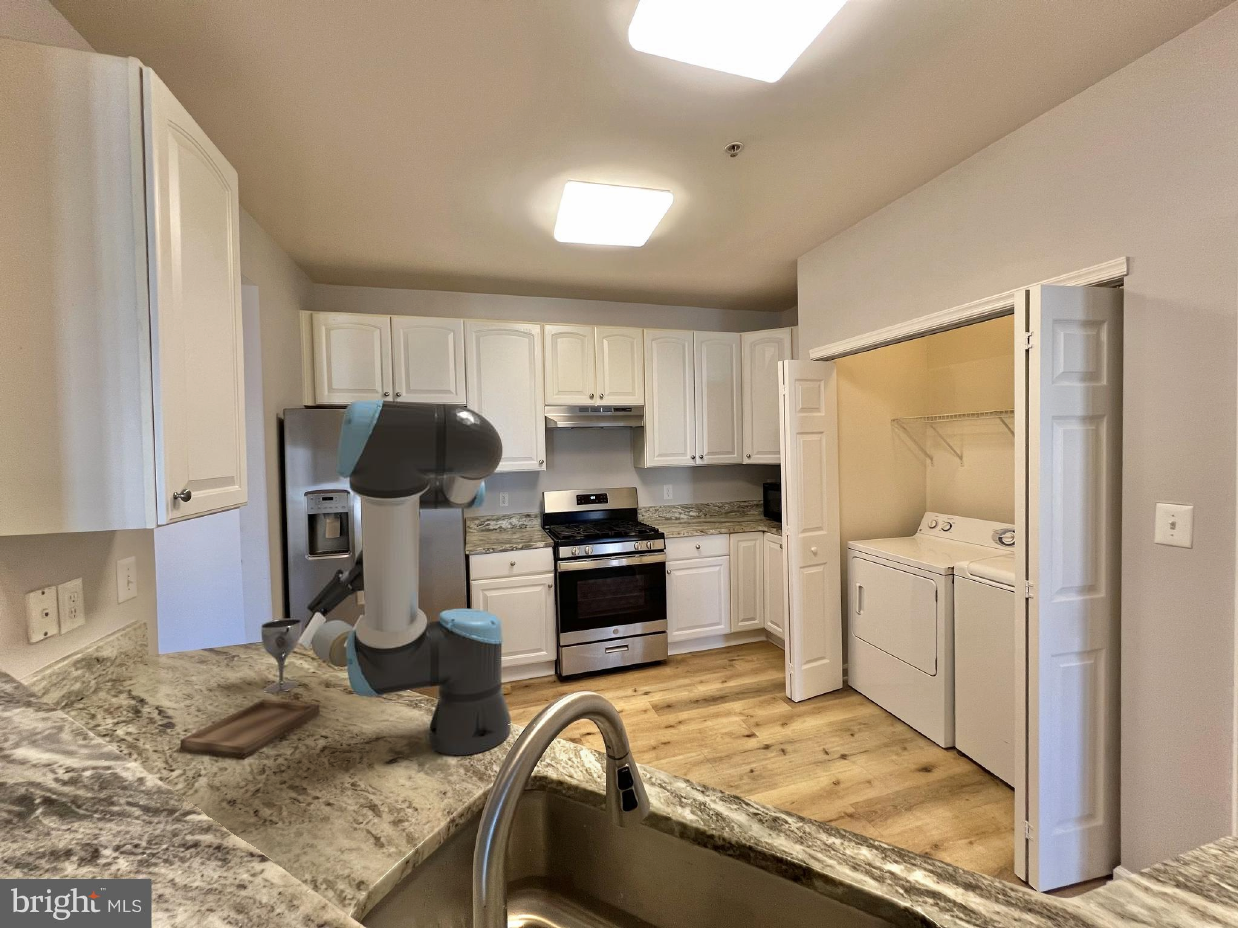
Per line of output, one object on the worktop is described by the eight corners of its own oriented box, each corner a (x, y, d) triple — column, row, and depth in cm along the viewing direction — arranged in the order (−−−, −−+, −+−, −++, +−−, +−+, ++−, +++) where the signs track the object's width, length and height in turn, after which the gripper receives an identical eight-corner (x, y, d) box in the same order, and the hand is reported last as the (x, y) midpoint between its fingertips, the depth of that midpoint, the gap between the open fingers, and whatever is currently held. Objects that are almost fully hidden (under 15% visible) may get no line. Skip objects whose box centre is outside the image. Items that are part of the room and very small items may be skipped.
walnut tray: (319, 714, 106) (319, 704, 106) (244, 758, 90) (244, 747, 90) (263, 708, 109) (263, 699, 109) (180, 750, 93) (180, 739, 93)
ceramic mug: (328, 673, 95) (330, 632, 96) (310, 662, 100) (312, 623, 101) (383, 658, 104) (385, 620, 104) (364, 649, 109) (365, 613, 109)
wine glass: (303, 687, 120) (304, 623, 121) (262, 696, 115) (263, 630, 115) (298, 677, 126) (298, 616, 127) (258, 685, 121) (259, 622, 121)
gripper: (432, 564, 114) (385, 660, 98) (345, 561, 118) (287, 653, 102) (418, 543, 109) (367, 641, 93) (328, 541, 113) (264, 634, 97)
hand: (325, 647), depth 98 cm, fingers closed on ceramic mug, 9 cm apart
